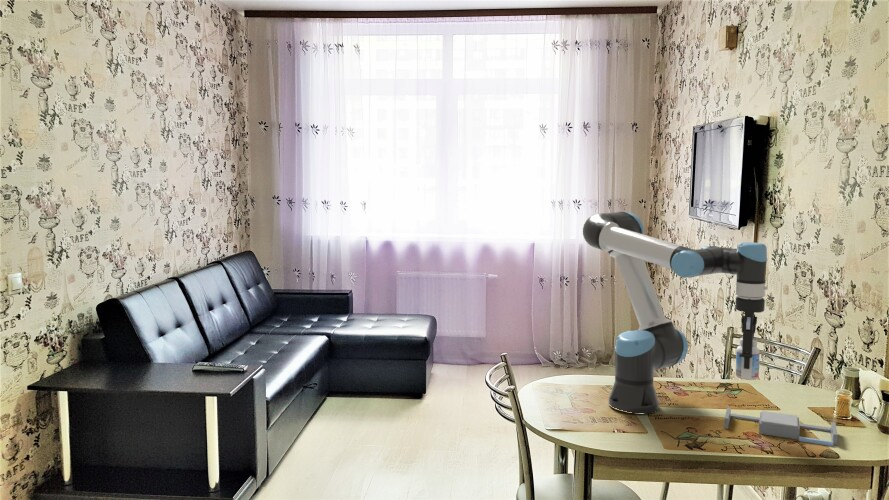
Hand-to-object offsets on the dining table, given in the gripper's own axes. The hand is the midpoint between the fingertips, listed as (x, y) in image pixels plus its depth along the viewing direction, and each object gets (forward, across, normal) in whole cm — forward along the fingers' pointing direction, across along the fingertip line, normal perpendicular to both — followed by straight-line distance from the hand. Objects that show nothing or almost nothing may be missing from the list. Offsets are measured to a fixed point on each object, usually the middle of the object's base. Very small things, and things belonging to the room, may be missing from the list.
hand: (746, 375), depth 190 cm
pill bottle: (+1, 0, 0) cm, 1 cm away
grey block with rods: (+15, 0, -9) cm, 17 cm away
